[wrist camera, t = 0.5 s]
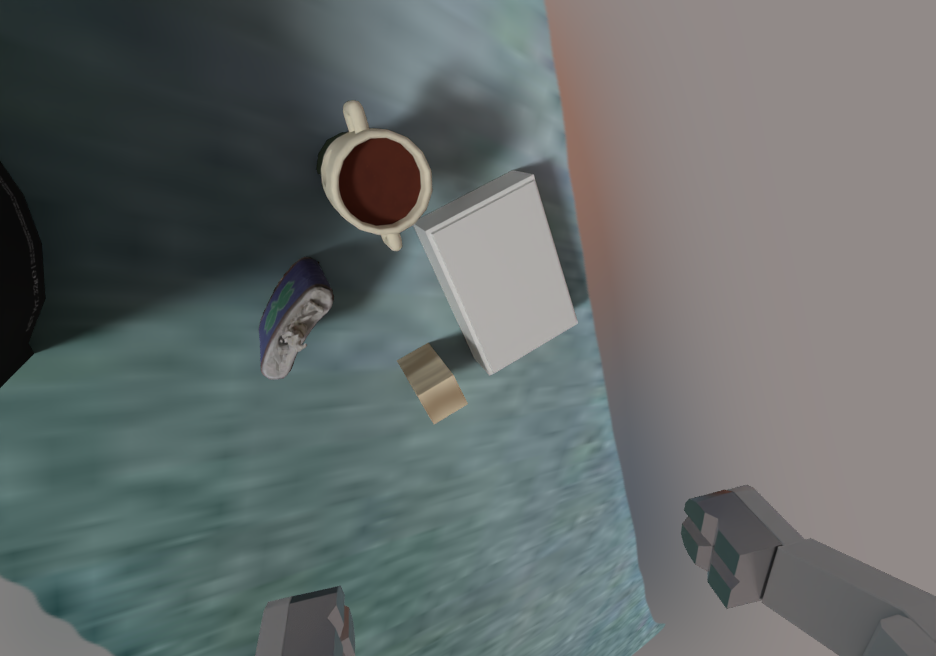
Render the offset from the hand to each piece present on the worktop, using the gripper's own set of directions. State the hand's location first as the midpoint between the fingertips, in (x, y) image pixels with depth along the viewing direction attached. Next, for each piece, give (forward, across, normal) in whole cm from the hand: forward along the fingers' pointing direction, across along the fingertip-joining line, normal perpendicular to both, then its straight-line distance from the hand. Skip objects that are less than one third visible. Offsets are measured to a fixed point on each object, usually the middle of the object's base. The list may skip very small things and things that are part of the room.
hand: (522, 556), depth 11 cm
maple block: (+40, +1, +19) cm, 44 cm away
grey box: (+42, -9, +10) cm, 44 cm away
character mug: (+40, +4, -3) cm, 40 cm away
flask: (+38, +12, +7) cm, 41 cm away
